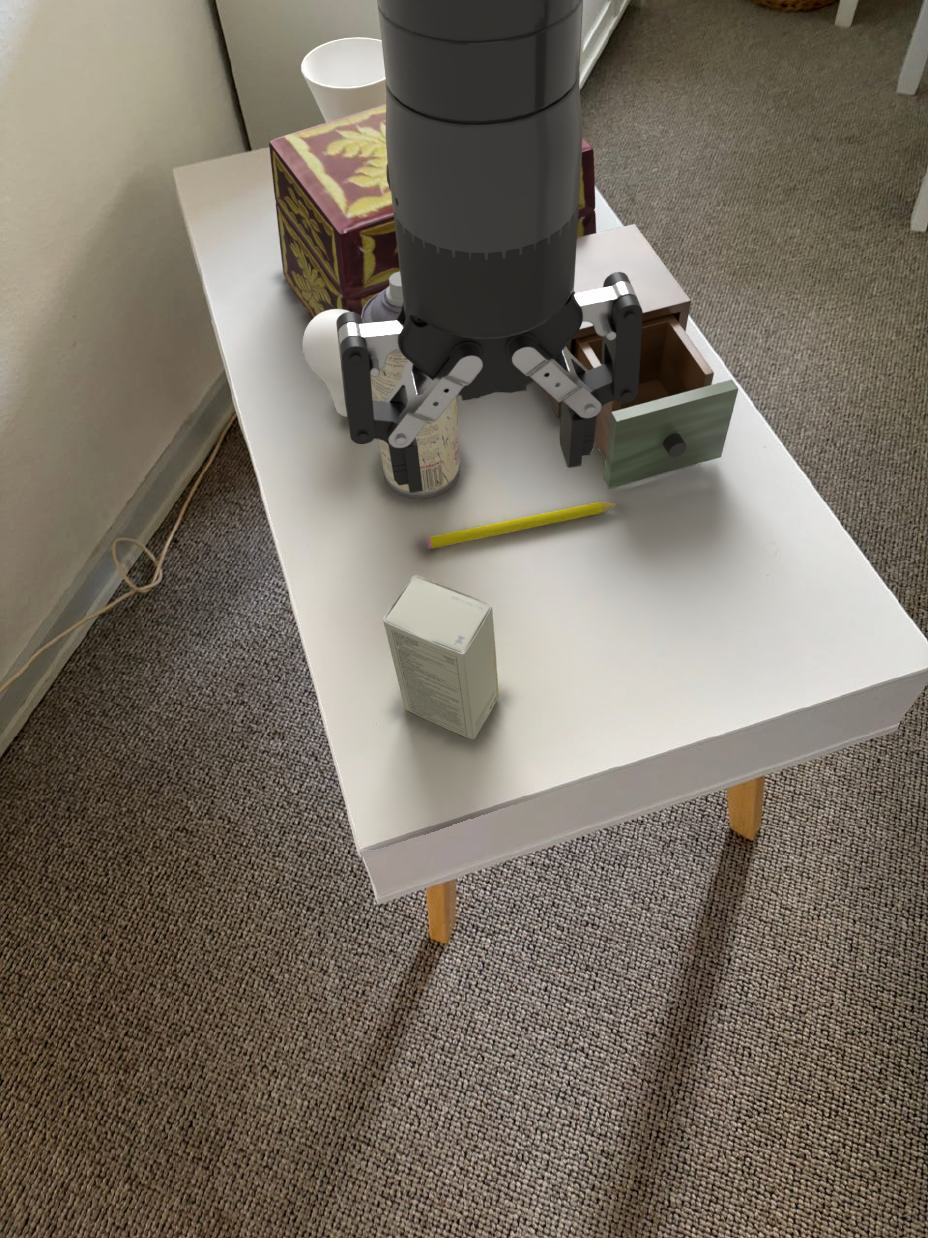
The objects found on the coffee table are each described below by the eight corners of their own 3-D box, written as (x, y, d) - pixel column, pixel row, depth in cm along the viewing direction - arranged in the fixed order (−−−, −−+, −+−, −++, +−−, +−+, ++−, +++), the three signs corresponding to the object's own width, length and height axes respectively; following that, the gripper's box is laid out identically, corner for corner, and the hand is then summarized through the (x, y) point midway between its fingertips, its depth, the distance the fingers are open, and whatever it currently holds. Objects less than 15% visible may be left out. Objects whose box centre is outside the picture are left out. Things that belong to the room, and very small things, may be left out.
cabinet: (675, 387, 92) (691, 300, 83) (557, 419, 90) (562, 333, 82) (624, 310, 98) (634, 223, 90) (513, 339, 96) (514, 252, 88)
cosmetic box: (500, 697, 74) (498, 604, 64) (472, 744, 72) (466, 656, 61) (427, 665, 76) (414, 570, 65) (398, 710, 73) (380, 619, 63)
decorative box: (353, 381, 94) (329, 243, 81) (282, 275, 103) (251, 138, 91) (599, 288, 100) (611, 147, 88) (510, 196, 110) (510, 58, 97)
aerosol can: (476, 471, 87) (467, 279, 70) (415, 511, 84) (392, 322, 68) (427, 430, 90) (408, 237, 73) (368, 467, 87) (334, 277, 71)
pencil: (429, 551, 82) (428, 543, 81) (426, 542, 82) (425, 534, 81) (618, 511, 83) (619, 504, 82) (615, 503, 84) (616, 495, 83)
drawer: (727, 466, 84) (745, 398, 78) (614, 499, 83) (622, 432, 76) (669, 378, 91) (681, 308, 84) (562, 407, 89) (566, 338, 83)
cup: (315, 166, 115) (293, 45, 103) (402, 151, 116) (390, 30, 105) (329, 217, 109) (308, 95, 98) (421, 200, 110) (411, 78, 99)
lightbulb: (368, 382, 94) (353, 285, 84) (393, 422, 90) (380, 326, 81) (308, 403, 92) (286, 307, 83) (331, 445, 89) (311, 349, 80)
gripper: (316, 272, 36) (369, 544, 50) (686, 217, 37) (641, 499, 51) (300, 161, 41) (353, 439, 54) (633, 114, 42) (604, 400, 55)
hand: (492, 468), depth 52 cm, fingers open, 8 cm apart
